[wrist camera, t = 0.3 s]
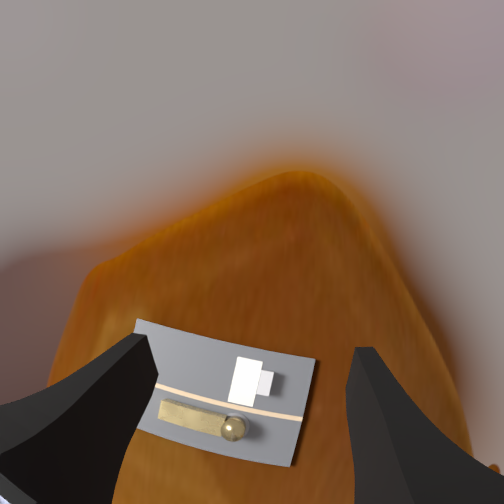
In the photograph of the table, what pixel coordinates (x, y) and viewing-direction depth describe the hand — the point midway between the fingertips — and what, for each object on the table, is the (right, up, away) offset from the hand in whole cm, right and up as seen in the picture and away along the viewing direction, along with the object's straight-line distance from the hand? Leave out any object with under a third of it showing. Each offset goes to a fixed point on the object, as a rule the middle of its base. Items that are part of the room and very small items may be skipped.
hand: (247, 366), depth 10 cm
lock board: (-5, -15, +26) cm, 30 cm away
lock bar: (-6, -17, +24) cm, 30 cm away
